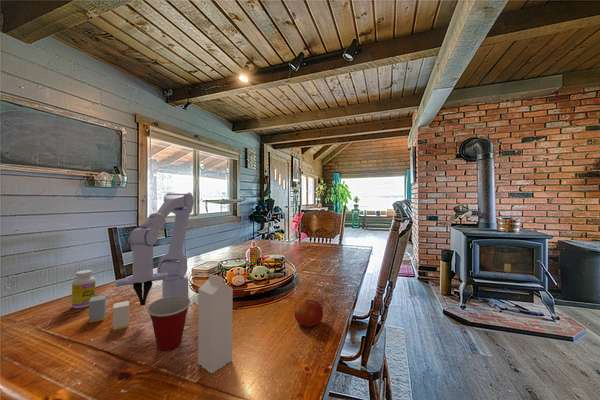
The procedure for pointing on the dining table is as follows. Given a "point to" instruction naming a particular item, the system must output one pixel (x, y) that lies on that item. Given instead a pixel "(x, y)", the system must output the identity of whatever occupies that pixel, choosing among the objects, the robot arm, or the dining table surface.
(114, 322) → the cream block
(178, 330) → the plastic cup
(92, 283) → the supplement bottle
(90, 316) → the grey block
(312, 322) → the tomato
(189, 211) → the robot arm
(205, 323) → the milk
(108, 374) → the dining table surface
